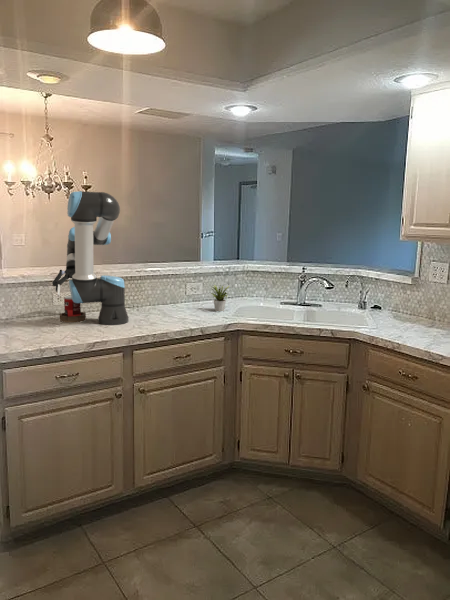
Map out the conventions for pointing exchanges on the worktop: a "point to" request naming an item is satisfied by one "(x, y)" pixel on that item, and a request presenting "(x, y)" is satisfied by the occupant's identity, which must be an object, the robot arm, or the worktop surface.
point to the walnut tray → (72, 318)
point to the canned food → (71, 307)
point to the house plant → (219, 298)
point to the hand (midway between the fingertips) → (72, 295)
